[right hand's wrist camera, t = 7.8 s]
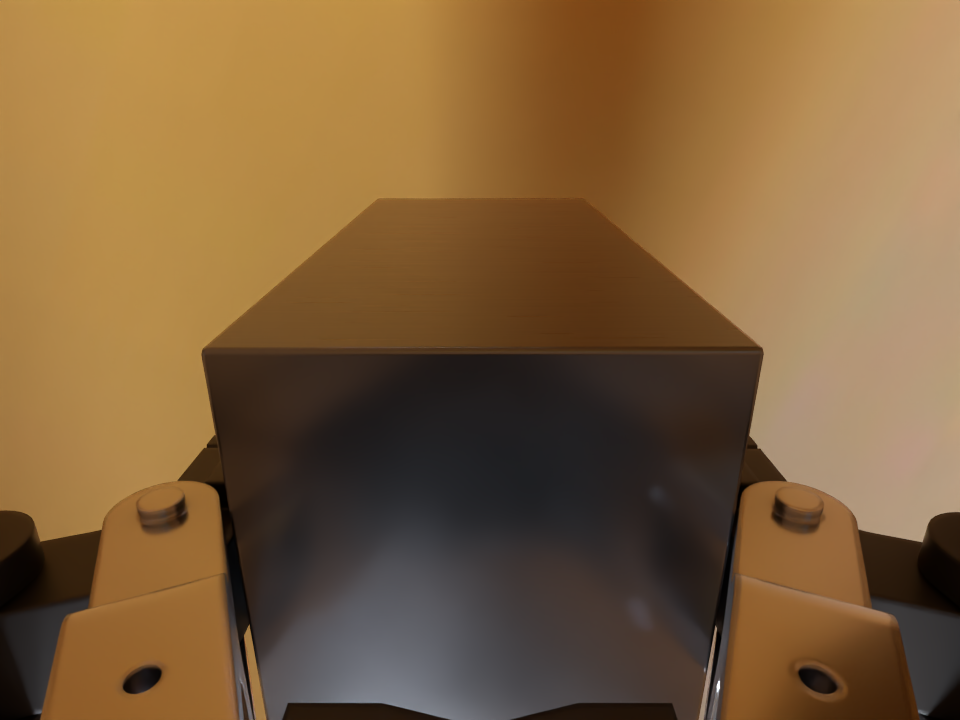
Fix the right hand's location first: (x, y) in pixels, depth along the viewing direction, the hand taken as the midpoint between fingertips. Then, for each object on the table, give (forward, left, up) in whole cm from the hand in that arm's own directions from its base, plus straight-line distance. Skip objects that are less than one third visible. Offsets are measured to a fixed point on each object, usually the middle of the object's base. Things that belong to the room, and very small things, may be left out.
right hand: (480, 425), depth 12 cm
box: (+9, 0, -7) cm, 12 cm away
